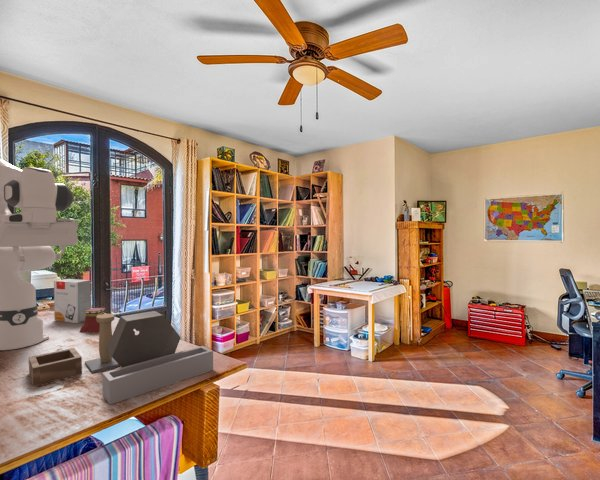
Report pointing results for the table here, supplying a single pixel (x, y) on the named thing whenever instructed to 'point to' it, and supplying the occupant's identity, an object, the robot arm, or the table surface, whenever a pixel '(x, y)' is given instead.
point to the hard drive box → (71, 300)
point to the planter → (142, 338)
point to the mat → (100, 365)
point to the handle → (105, 336)
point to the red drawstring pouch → (92, 320)
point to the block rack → (155, 373)
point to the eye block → (54, 366)
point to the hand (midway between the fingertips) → (40, 260)
